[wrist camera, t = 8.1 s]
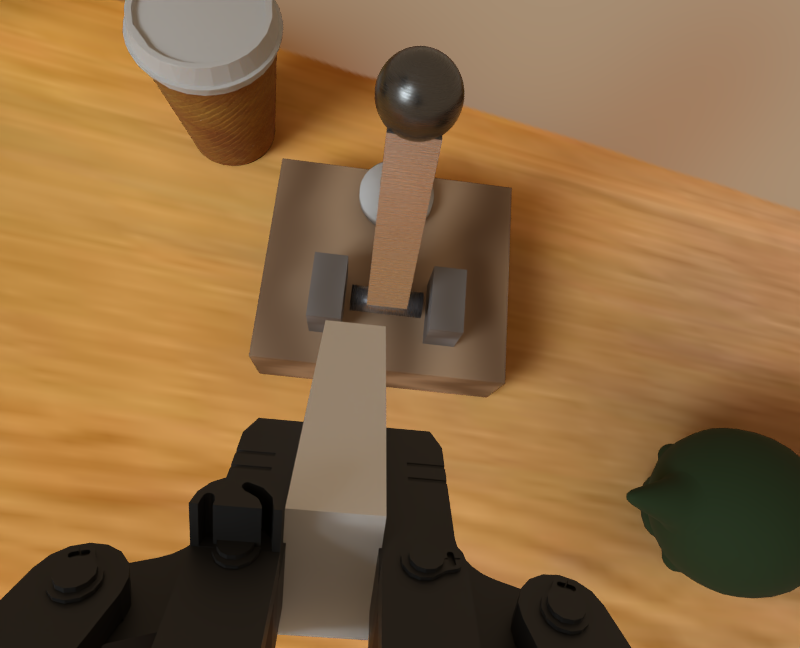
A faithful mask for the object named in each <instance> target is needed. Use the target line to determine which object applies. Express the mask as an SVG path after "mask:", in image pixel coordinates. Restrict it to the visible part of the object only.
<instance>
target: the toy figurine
mask: <svg viewBox="0 0 800 648" xmlns="http://www.w3.org/2000/svg"><path fill="white" fill-rule="evenodd" d="M626 497H627V500H628V501H629V502H630V503H631V504H632V505H634V506H635V507H637V508H638V509H640V510H641V516H642V519H643V523H644V526H645V528H646V529H647V530H648V531H649V532H650V534H651V535H653V536H654V537H656V540H657V542H658V544H659V546H660V548H661V549H662V559H663V562H664V563H665V565H666V566H667V567H668V568H669V569H671V570H673V571H677V572H682V573H683V574H685V575H686V576H688V577H689V578H690V579H692V580H694V581H695V582H697V583H699V584H701V585H703V586H705V587H707V588H709V589H711V590H714V591H716V592H719V593H722V594H725V595H730V596H735V597H745V598H764V597H773V596H777V595H780V594H783V593H787V592H790V591H792V590H794V589H795V588H797V587H799V586H800V457H799V456H798V455H796V454H795V453H794V452H793V451H792V450H791V449H789V448H787V447H786V446H784V445H782V444H781V443H779V442H777V441H775V440H773V439H771V438H768V437H766V436H763V435H760V434H757V433H754V432H749V431H744V430H739V429H729V428H712V429H708V430H704V431H701V432H698V433H695V434H692V435H690V436H688V437H686V438H684V439H682V440H680V441H678V442H676V443H675V444H667V445H664V446H663V447H662V448H661V449H660V450H659V453H658V462H657V464H656V466H655V468H654V470H653V473H652V475H651V477H649V478H648V479H647V480H646V481H645V482H644V484H643V486H641V487H638V488H636V489H633V490H631V491H630V492H628V493H627V496H626Z"/></svg>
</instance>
